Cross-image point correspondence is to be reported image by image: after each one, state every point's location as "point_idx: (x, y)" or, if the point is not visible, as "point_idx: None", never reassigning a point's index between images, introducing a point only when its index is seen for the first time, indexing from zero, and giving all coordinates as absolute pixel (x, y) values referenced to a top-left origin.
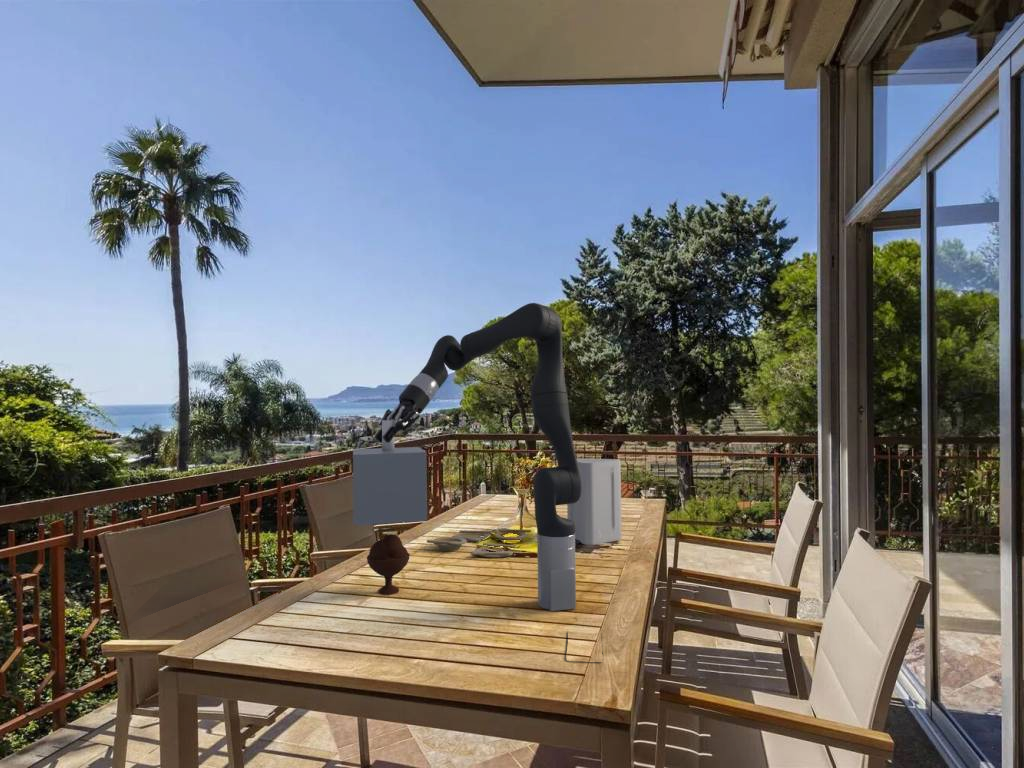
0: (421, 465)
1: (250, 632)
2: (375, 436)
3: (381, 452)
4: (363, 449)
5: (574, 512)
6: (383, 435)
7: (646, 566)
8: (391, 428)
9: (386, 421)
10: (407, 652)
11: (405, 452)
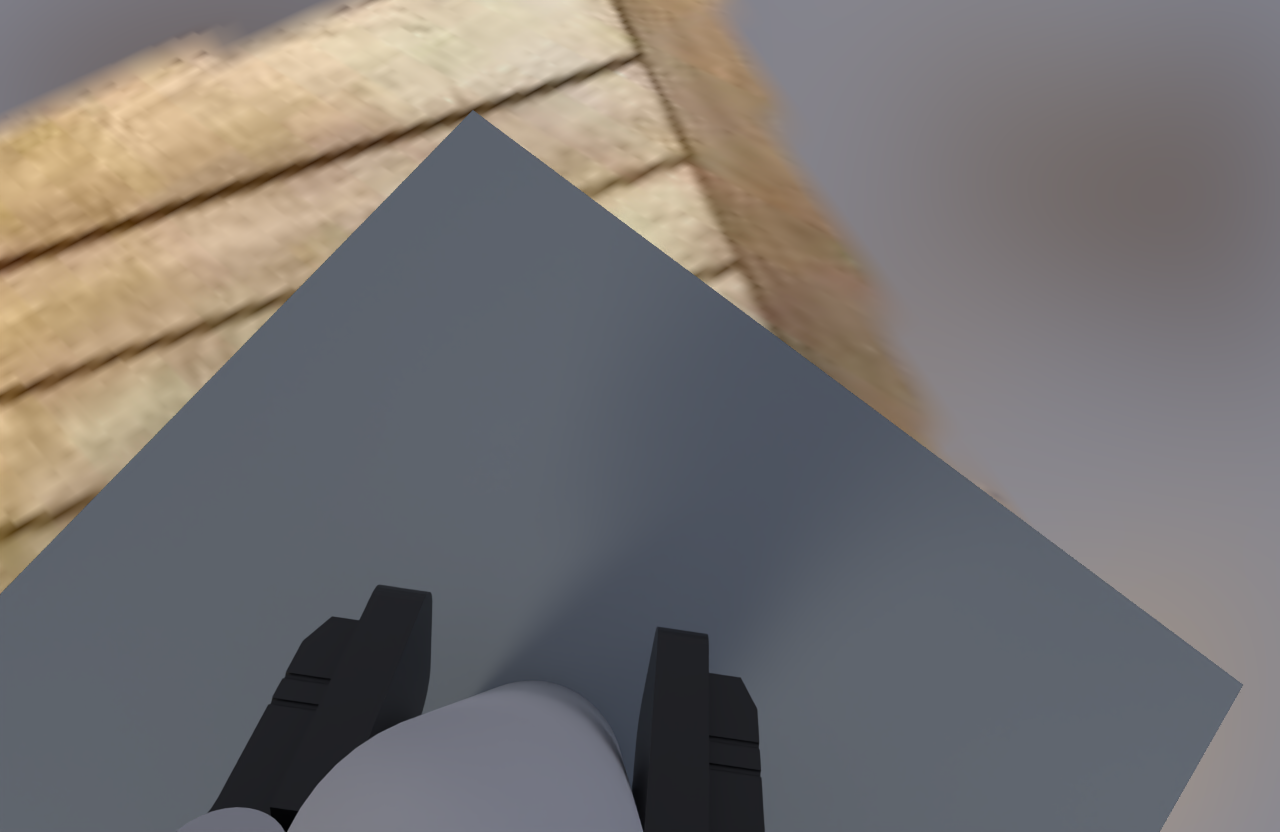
0: None
1: (629, 111)
2: (688, 631)
3: (379, 498)
4: (1069, 736)
5: None
6: (512, 689)
7: None
8: (286, 780)
9: (374, 742)
10: (45, 280)
11: (27, 673)
